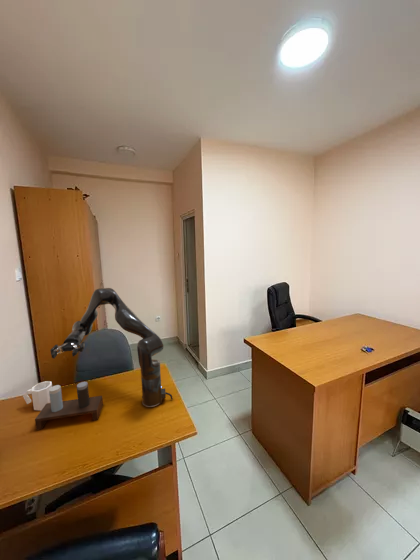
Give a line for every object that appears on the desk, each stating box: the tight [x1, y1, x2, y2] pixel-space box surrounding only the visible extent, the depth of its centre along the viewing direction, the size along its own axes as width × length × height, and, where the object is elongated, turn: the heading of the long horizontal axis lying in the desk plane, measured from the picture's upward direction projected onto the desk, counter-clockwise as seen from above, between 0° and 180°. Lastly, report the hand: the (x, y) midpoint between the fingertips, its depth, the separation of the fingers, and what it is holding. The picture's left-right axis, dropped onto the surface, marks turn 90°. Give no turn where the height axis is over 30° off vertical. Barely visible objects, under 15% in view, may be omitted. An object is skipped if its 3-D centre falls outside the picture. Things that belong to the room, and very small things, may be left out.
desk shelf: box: [34, 395, 104, 431], centre depth 102 cm, size 24×10×5 cm, turn 102°
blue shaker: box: [49, 384, 64, 412], centre depth 100 cm, size 4×4×10 cm
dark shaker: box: [76, 381, 90, 408], centre depth 102 cm, size 4×4×10 cm
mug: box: [22, 380, 53, 412], centre depth 109 cm, size 12×9×10 cm
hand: (63, 355), depth 108 cm, fingers open, 8 cm apart
